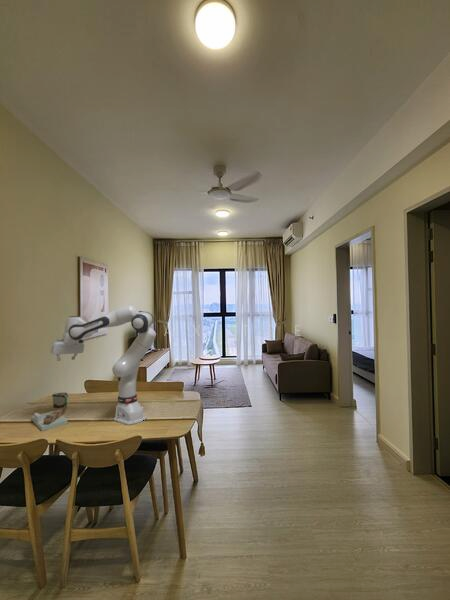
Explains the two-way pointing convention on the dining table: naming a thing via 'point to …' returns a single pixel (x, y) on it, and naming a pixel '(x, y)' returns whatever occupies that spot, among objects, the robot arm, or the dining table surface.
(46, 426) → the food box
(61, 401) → the food container
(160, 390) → the dining table surface
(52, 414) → the brown long bar
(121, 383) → the robot arm
